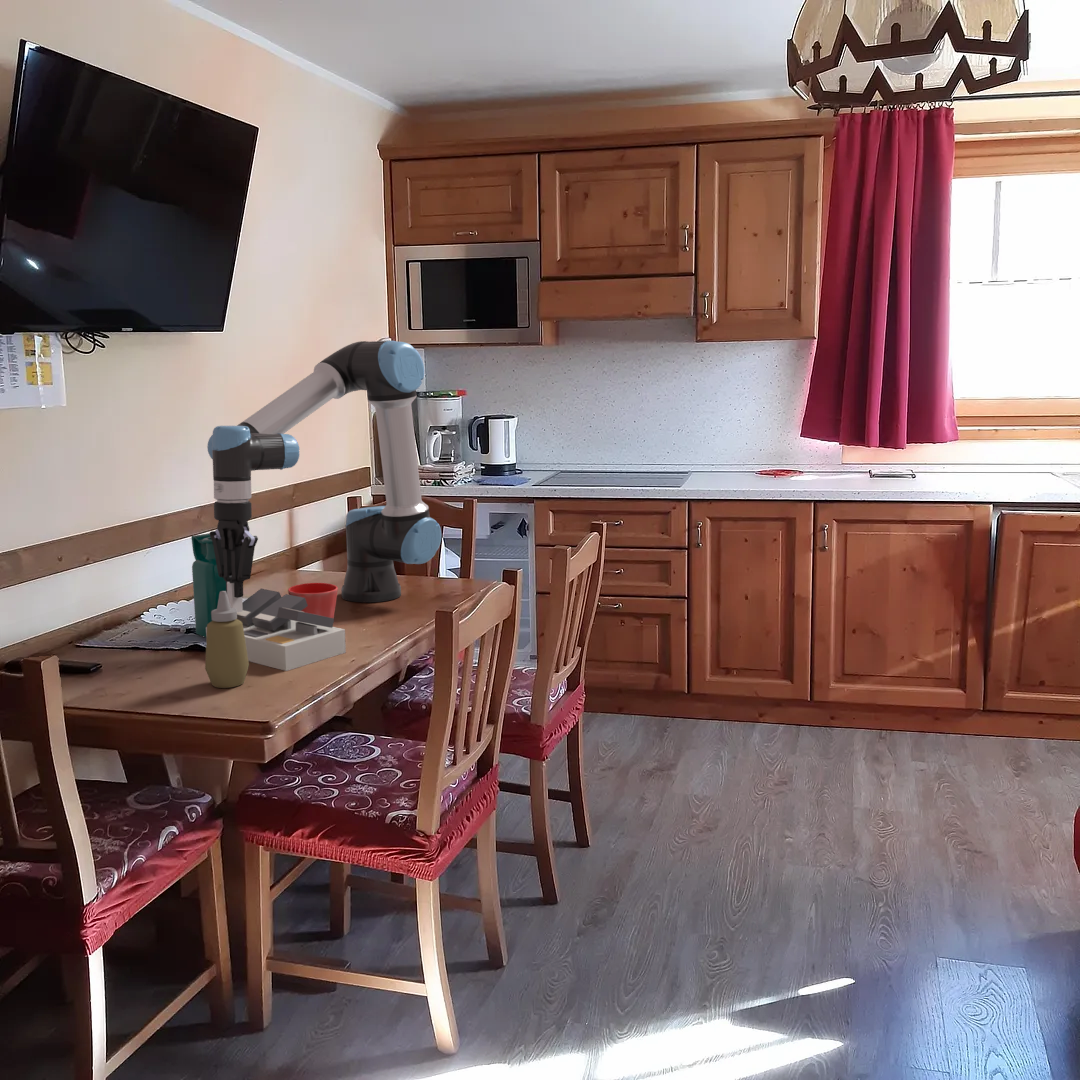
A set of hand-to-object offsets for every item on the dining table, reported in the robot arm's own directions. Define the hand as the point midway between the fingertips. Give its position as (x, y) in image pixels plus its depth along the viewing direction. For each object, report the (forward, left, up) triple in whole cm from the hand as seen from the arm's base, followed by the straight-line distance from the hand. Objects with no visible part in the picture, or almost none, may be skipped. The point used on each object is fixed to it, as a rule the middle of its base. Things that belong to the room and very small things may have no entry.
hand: (235, 611), depth 223 cm
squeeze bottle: (+16, +18, -8) cm, 26 cm away
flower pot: (-21, +1, -8) cm, 22 cm away
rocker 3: (-5, +16, 0) cm, 17 cm away
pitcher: (-6, -14, -8) cm, 17 cm away
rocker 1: (-5, 0, 0) cm, 5 cm away
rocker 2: (-5, +8, 0) cm, 10 cm away
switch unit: (-4, +8, -8) cm, 12 cm away
